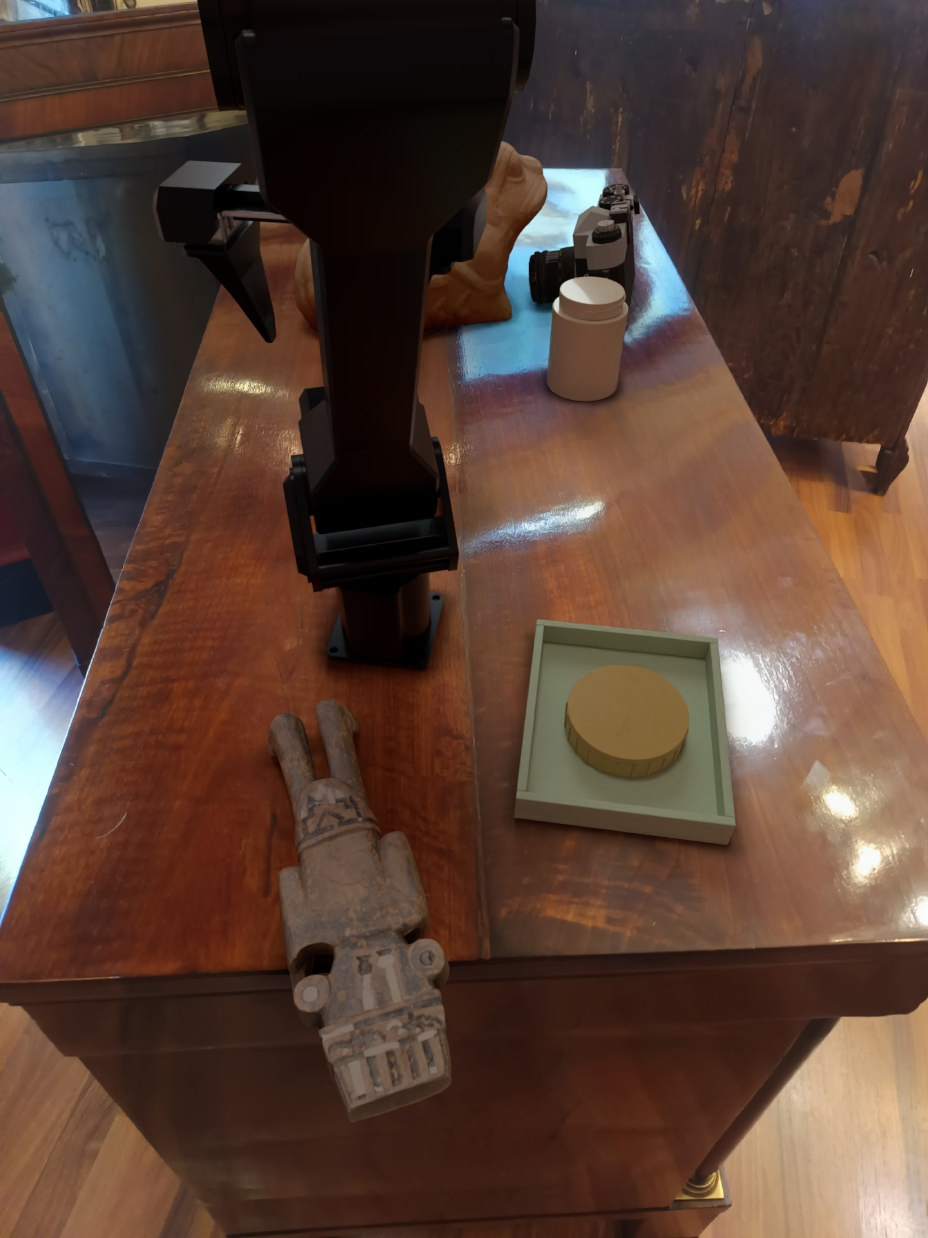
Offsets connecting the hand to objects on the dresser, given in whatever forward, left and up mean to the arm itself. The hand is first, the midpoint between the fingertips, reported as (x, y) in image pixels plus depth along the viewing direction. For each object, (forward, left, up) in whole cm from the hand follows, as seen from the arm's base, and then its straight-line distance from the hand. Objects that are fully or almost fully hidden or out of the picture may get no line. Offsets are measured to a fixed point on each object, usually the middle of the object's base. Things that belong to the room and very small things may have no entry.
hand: (338, 345), depth 54 cm
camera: (+36, -15, -12) cm, 41 cm away
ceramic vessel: (+32, +1, -12) cm, 35 cm away
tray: (-20, -20, -12) cm, 31 cm away
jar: (+19, -16, -12) cm, 28 cm away
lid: (-20, -21, -11) cm, 30 cm away
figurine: (-32, -7, -8) cm, 34 cm away
